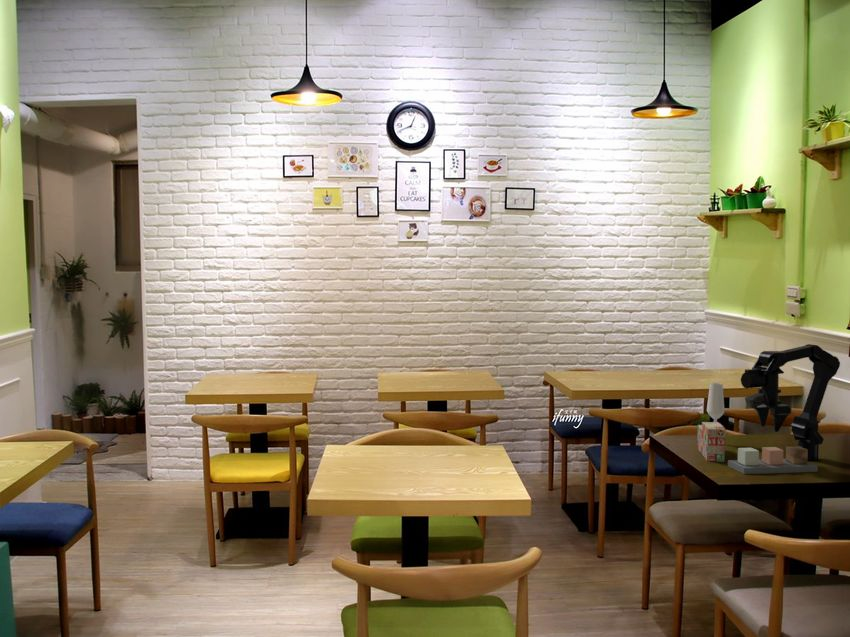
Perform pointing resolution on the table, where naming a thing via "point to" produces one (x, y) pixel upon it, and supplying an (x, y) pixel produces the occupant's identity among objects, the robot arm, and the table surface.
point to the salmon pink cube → (772, 455)
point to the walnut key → (796, 455)
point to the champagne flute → (715, 401)
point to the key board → (772, 467)
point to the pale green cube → (748, 456)
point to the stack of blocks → (711, 441)
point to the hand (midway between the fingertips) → (769, 429)
